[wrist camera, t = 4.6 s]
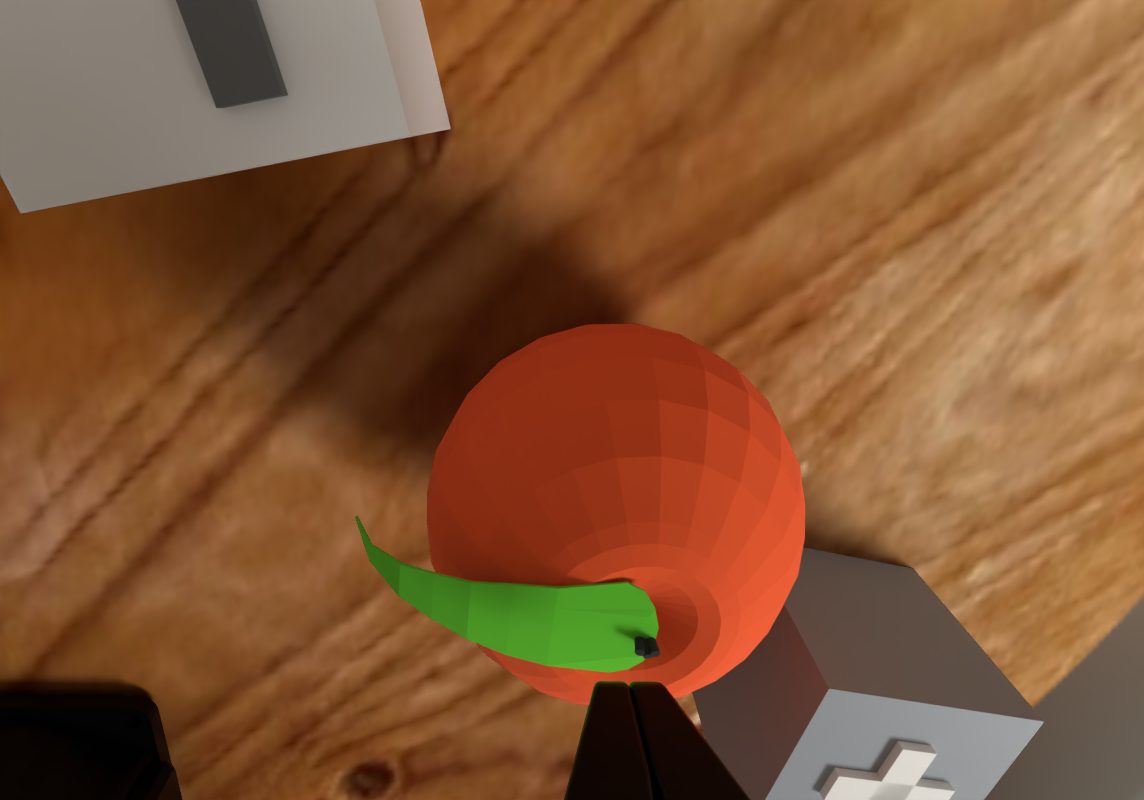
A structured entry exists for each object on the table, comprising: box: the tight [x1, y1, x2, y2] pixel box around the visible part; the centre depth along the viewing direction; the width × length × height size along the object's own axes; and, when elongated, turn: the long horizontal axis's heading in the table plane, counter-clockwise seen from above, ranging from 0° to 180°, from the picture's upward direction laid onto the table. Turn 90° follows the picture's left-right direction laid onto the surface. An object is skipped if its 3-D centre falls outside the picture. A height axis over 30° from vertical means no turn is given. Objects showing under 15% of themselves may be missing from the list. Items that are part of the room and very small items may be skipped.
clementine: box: [355, 324, 805, 705], centre depth 12 cm, size 8×7×7 cm
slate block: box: [692, 547, 1044, 800], centre depth 16 cm, size 5×5×5 cm
